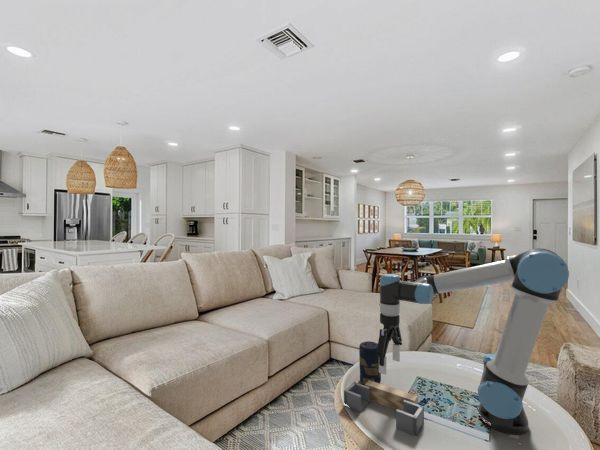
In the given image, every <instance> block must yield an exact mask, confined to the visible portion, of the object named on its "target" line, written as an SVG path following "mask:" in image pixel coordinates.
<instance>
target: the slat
mask: <svg viewBox="0 0 600 450" xmlns="http://www.w3.org/2000/svg"><path fill="white" fill-rule="evenodd" d="M364 386H367V387H370V401H371V402H375V403H376V404H380V405H383V406H385V407H387V408H388V407H389V408H391V409H393V410H395V411H396V410H397V409H398V410H401V411H403V401H404V400H406V401H409V402H412V403H415V404H418V405H419V401H418V398H419V396H418V395H415V394H412V393H409V392H406V391H405V390H404V391H403V390H400V389H397V388H394V387H391V386H390V385H389V386H388V385H385V384H383V383H376V382H373V381H370V380H369V381H368V382H367V383H366V384H364Z"/></svg>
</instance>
